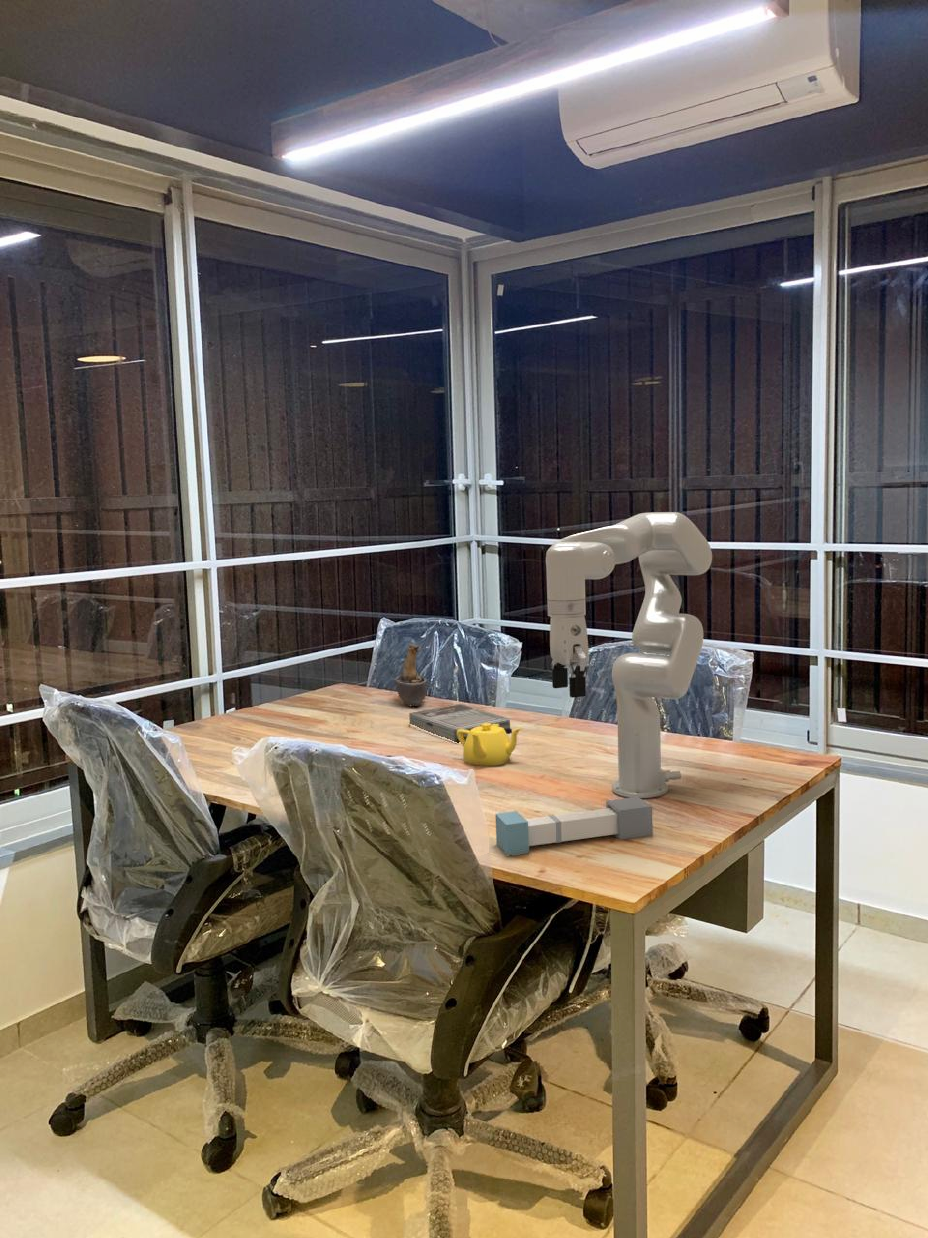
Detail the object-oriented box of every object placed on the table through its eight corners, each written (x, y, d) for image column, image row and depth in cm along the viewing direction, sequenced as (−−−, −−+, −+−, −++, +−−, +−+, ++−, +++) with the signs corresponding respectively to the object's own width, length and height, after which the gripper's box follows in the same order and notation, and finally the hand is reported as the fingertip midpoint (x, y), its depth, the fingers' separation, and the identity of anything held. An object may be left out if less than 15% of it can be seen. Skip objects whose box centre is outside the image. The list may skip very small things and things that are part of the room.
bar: (619, 826, 203) (618, 806, 202) (627, 833, 199) (627, 812, 198) (506, 841, 197) (505, 821, 196) (512, 849, 193) (512, 828, 192)
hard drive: (457, 745, 275) (456, 730, 274) (408, 728, 297) (407, 713, 297) (511, 734, 285) (511, 719, 284) (460, 718, 307) (460, 703, 307)
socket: (517, 841, 199) (516, 811, 198) (529, 853, 192) (528, 822, 191) (496, 844, 198) (495, 813, 197) (507, 856, 191) (506, 825, 190)
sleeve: (638, 824, 205) (637, 796, 205) (652, 835, 199) (652, 806, 198) (606, 829, 204) (606, 800, 203) (620, 839, 197) (619, 810, 197)
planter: (419, 711, 316) (416, 649, 313) (377, 707, 325) (374, 646, 322) (446, 702, 328) (443, 641, 326) (405, 697, 337) (402, 639, 335)
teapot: (473, 772, 248) (472, 733, 247) (454, 759, 260) (452, 721, 259) (524, 764, 253) (522, 726, 252) (502, 751, 265) (501, 715, 264)
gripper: (601, 611, 192) (603, 698, 195) (568, 602, 209) (570, 682, 211) (564, 614, 190) (566, 702, 193) (534, 604, 207) (537, 686, 209)
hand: (568, 692), depth 202 cm, fingers open, 9 cm apart
